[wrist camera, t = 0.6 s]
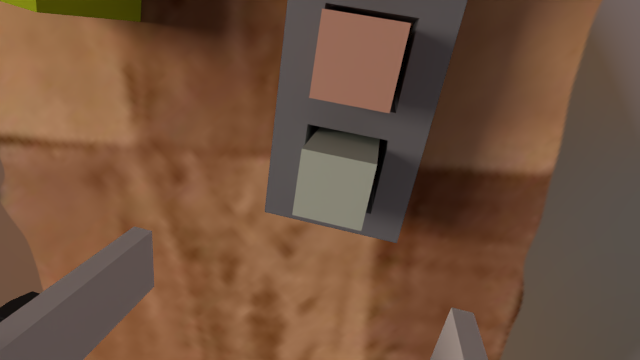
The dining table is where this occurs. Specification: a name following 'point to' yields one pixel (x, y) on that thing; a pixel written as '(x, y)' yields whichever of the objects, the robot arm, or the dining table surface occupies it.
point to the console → (395, 127)
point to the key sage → (336, 177)
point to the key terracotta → (358, 60)
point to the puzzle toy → (85, 8)
